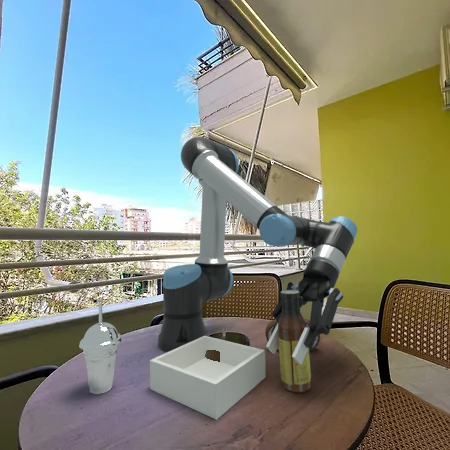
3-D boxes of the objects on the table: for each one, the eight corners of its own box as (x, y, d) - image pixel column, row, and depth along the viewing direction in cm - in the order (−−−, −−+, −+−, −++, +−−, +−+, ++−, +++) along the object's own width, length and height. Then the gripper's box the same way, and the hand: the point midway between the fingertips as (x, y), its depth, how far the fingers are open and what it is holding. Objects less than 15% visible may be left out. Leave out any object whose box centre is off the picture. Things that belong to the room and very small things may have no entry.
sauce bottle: (313, 382, 60) (310, 289, 61) (309, 397, 55) (305, 295, 56) (283, 376, 63) (280, 287, 64) (276, 390, 57) (273, 293, 58)
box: (150, 389, 59) (149, 360, 60) (205, 358, 74) (204, 335, 74) (216, 419, 49) (215, 384, 49) (265, 377, 63) (264, 350, 63)
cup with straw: (130, 380, 63) (129, 291, 64) (103, 403, 54) (103, 300, 55) (97, 377, 65) (97, 290, 66) (67, 398, 56) (67, 298, 57)
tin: (319, 348, 79) (318, 318, 79) (322, 352, 76) (320, 321, 76) (265, 347, 80) (264, 317, 81) (266, 351, 77) (265, 321, 78)
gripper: (369, 281, 62) (333, 382, 51) (298, 274, 77) (258, 351, 66) (356, 259, 59) (315, 360, 48) (285, 256, 74) (241, 333, 63)
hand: (282, 355), depth 57 cm, fingers closed on sauce bottle, 6 cm apart
